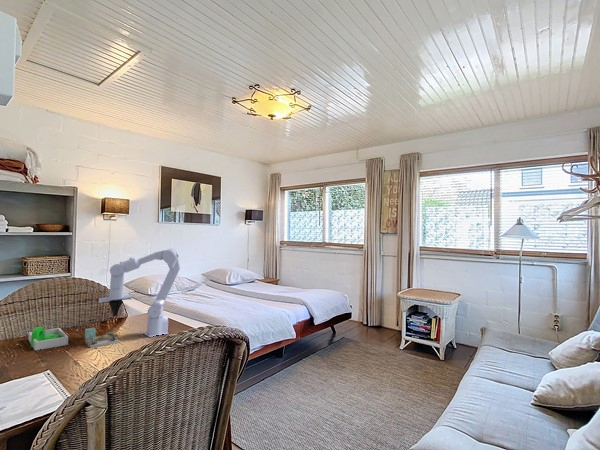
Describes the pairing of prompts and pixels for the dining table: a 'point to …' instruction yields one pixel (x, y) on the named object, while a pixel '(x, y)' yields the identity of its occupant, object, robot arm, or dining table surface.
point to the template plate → (102, 342)
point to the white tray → (50, 340)
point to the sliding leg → (90, 334)
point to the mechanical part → (42, 335)
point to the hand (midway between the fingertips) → (114, 315)
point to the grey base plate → (103, 337)
